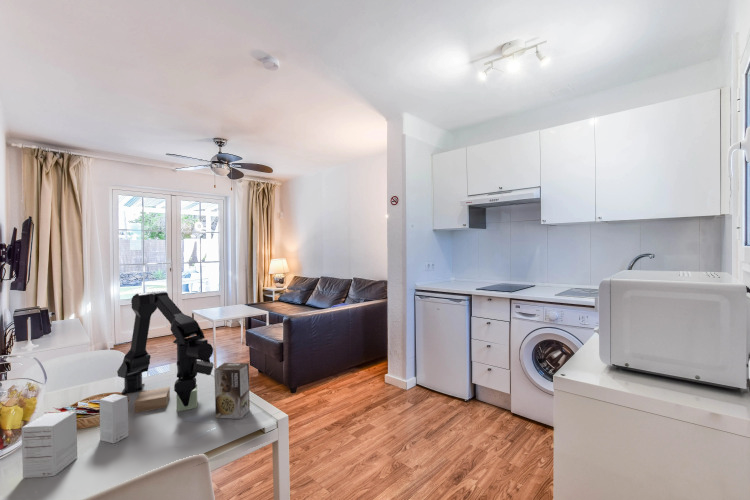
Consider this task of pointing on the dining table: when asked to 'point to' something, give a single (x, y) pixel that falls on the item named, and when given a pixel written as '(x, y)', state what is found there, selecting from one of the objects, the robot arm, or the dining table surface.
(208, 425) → the dining table surface
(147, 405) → the walnut block
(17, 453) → the dining table surface
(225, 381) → the grey cardboard box
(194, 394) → the sage cube
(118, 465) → the dining table surface
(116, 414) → the skincare box
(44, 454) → the supplement box
